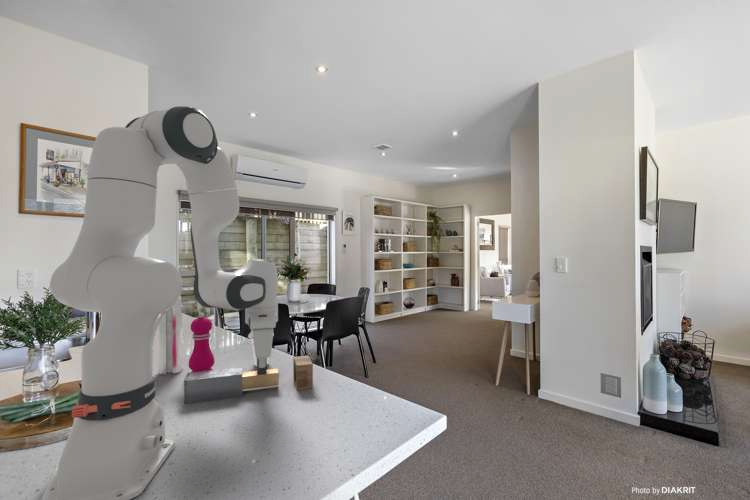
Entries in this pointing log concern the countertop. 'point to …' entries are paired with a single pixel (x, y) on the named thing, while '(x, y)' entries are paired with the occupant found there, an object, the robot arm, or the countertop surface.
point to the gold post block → (260, 378)
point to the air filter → (171, 340)
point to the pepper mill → (201, 345)
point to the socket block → (302, 372)
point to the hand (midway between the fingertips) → (261, 364)
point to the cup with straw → (254, 348)
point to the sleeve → (212, 385)
